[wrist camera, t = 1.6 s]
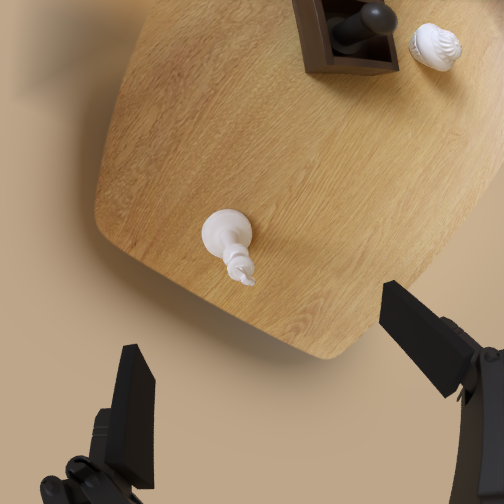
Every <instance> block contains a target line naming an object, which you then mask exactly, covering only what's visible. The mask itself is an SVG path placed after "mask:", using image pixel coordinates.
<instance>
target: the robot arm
mask: <svg viewBox="0 0 504 504" xmlns="http://www.w3.org/2000/svg"><path fill="white" fill-rule="evenodd" d="M379 324H380V325H381V326H382V327H383V328H384V329H385V330H386V331H387V332H388V333H389V335H390V336H391V337H392V338H393V339H394V340H395V341H396V342H397V343H398V344H399V346H400V347H401V348H402V349H403V350H404V351H405V352H406V354H407V355H408V356H409V357H410V358H411V359H412V360H413V362H414V363H415V364H416V365H417V366H418V367H419V368H420V370H421V371H422V372H423V373H424V374H425V375H426V376H427V378H428V379H429V380H430V381H431V382H432V384H433V385H434V386H435V387H436V388H437V390H439V392H440V393H441V394H442V395H443V397H444V398H446V397H448V396H450V395H451V394H453V393H454V392H455V391H456V390H457V388H458V386H459V384H460V383H461V384H462V386H463V388H462V390H461V392H460V394H459V396H458V398H457V402H458V401H459V399H460V398H461V396H462V400H461V424H460V437H459V447H458V455H457V463H456V470H455V475H454V481H453V486H452V491H451V496H450V501H449V504H504V349H503V350H499V351H498V350H496V349H495V348H492V347H485V348H483V347H481V346H480V345H479V344H478V343H477V342H476V341H475V340H474V339H473V338H471V337H470V336H469V335H468V334H467V333H466V332H464V330H463V329H461V328H460V327H458V325H457V324H456V323H455V322H453V321H452V320H450V319H448V318H446V317H441V318H439V317H438V316H436V315H435V314H434V313H433V312H432V311H431V310H430V309H428V308H427V307H426V306H425V305H424V304H422V303H421V302H420V301H419V300H418V299H417V298H415V297H414V296H413V295H412V294H411V293H409V292H408V291H407V290H406V289H405V288H403V287H402V286H401V285H400V284H398V283H397V282H396V281H395V280H393V281H390V282H387V283H384V284H383V293H382V302H381V311H380V318H379ZM155 382H156V381H155V378H154V376H153V375H152V373H151V371H150V369H149V367H148V365H147V363H146V361H145V360H144V357H143V355H142V353H141V351H140V349H139V347H138V345H137V344H132V345H126V346H123V349H122V354H121V359H120V363H119V368H118V373H117V378H116V383H115V389H114V394H113V400H112V405H111V408H106V409H100V411H99V412H98V414H97V416H96V418H95V423H94V429H93V433H92V435H93V437H92V440H91V446H90V453H89V458H88V457H85V456H75V457H73V458H72V459H71V460H70V461H69V462H68V463H67V466H66V475H67V478H68V479H66V480H61V479H59V478H58V477H56V476H53V475H52V476H47V477H45V478H44V479H43V480H42V482H41V485H40V492H41V496H42V500H43V503H44V504H143V503H142V502H141V501H140V500H139V499H138V498H137V497H136V495H135V494H134V493H132V485H133V486H134V487H135V488H137V489H154V404H155Z"/></svg>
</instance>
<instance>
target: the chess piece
mask: <svg viewBox="0 0 504 504" xmlns="http://www.w3.org/2000/svg"><path fill="white" fill-rule="evenodd" d="M202 240H203V243H204V245H205V247H206V248H207V250H208V251H209V252H210V253H211V254H213V255H214V256H216V257H219V258H223V261H224V263H225V264H226V265H227V266H228V267H227V271H228V274H229V276H230V277H231V278H232V279H234V280H236V281H241V282H242V283H243V284H244V285H246V286H248V284H249V285H250V286H253V284H254V283H255V282H256V281H255V279H254V278H252V277H251V276H252V275H253V273H254V270H255V266H254V263H253V261H252V260H251V259H250V258H249V251H248V249H247V248H248V246H249V245H250V243H251V240H252V228H251V224H250V222H249V220H248V219H247V217H246V216H245V215H244V214H242V213H241V212H239V211H236V210H233V209H223V210H219V211H217V212H215V213H213V214H212V215H211V216H209V217H208V219H207V220H206V221H205V223H204V225H203V228H202Z"/></svg>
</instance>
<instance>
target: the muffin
mask: <svg viewBox="0 0 504 504" xmlns="http://www.w3.org/2000/svg"><path fill="white" fill-rule="evenodd" d="M461 48H462V46H461V45H460V42H459V41H458V38H457V37H456V36H455V35H454V34H452V33H451V32H450V31H446V30H442V29H441V28H439V27H438V26H436V25H434V24H430V23H426V24H423V25H421V26H420V27H419V28H418V29H417V30H416V31H415V33H414V34H413V36H412V38H411V40H410V42H409V50H410V52H411V55H412V56H413V57H414V59H416V60H417V61H418V62H420V63H422V64H424V65H426V66H428V67H430V68H432V69H436V70H438V71H448V70H449V69H451V68H452V66H453V64H454V62H455V60H456V59H458V58H460V56H461V53H462V49H461Z"/></svg>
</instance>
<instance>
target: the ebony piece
mask: <svg viewBox="0 0 504 504" xmlns="http://www.w3.org/2000/svg"><path fill="white" fill-rule="evenodd" d="M326 23H327V28H328V32H329V37H330V43H331V48H332V53H333V54H334V55H337V56H341V57H345V56H349V55H352V54H355V53H357V52H358V51H359V50H360V49H361V47H362V42H363V40H366V39H369V38H371V37H374V36H376V35H379V36H386V35H389V34H391V33H393V32H394V31H395V29H396V28H397V24H398V20H397V16H396V14H395V12H394V11H393V10H392V9H391V8H390V7H389V6H387V5H385V4H383V3H380V2H370V3H367V4H366V5H364V6H363V7H362V8H361V10H360V12H358V13H356V14H354V15H352V16H351V17H349V18H347V19H346V18H343V17H332V18H330V19H328V20H327V21H326Z"/></svg>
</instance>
